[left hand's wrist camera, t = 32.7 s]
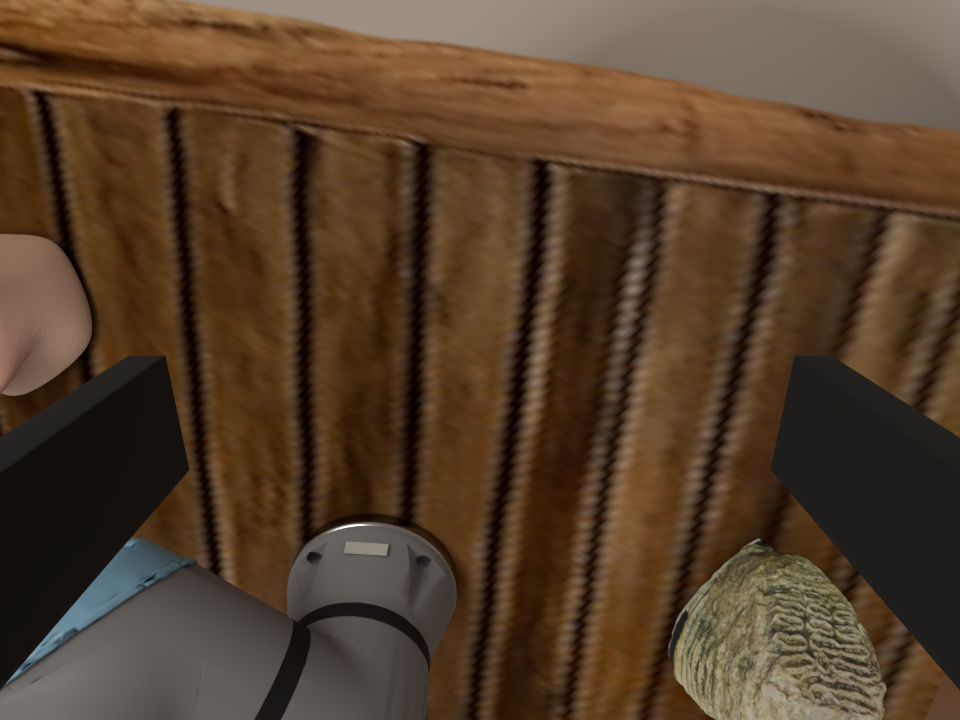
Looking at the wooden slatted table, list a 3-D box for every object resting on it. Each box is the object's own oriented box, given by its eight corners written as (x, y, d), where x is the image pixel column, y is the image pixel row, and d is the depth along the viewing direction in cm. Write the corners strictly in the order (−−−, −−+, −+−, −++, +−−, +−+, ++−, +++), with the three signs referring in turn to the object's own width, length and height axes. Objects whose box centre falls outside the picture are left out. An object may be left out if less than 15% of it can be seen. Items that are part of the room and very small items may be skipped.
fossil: (814, 529, 52) (936, 675, 38) (738, 677, 59) (819, 848, 45) (719, 512, 51) (808, 654, 37) (654, 664, 58) (709, 833, 44)
